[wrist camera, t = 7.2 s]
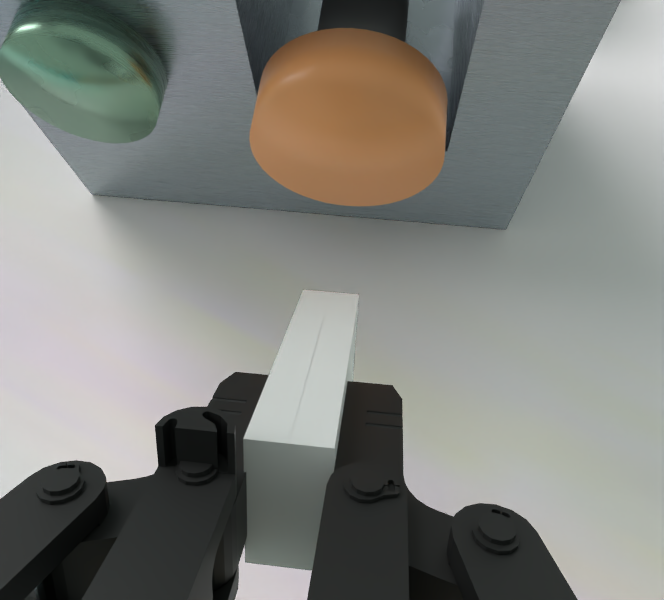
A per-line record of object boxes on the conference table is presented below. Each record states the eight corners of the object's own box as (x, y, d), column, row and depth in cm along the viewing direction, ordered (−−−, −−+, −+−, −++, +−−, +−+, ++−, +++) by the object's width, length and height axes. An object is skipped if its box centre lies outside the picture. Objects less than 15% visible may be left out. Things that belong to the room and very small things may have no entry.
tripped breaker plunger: (431, 212, 20) (460, 93, 15) (264, 199, 21) (231, 78, 15) (447, -47, 25) (474, -211, 20) (311, -53, 26) (299, -216, 20)
